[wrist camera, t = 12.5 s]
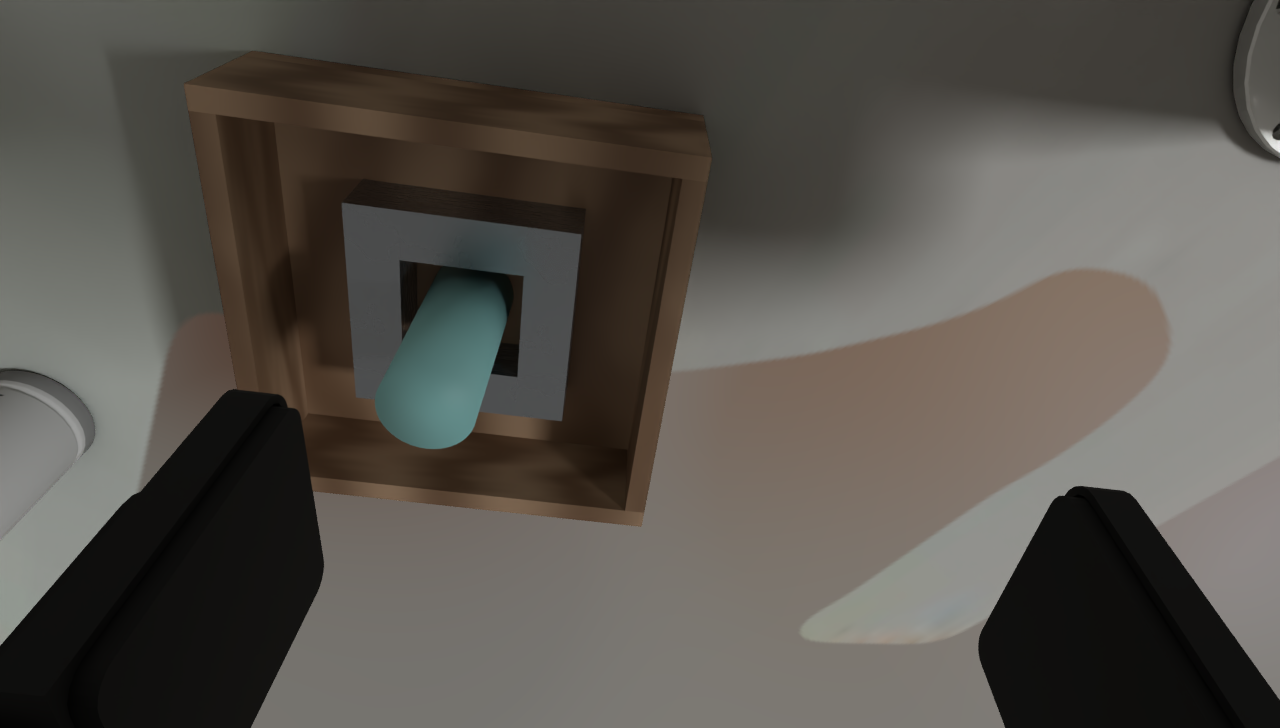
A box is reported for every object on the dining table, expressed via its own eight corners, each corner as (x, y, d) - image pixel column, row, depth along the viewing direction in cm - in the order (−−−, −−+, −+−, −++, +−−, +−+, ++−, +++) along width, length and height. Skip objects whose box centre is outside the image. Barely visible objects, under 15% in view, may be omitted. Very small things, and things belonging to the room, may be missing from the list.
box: (703, 115, 35) (712, 157, 30) (642, 453, 46) (641, 526, 41) (252, 50, 34) (183, 83, 29) (298, 414, 45) (253, 484, 40)
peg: (515, 261, 38) (477, 374, 30) (511, 330, 40) (475, 454, 32) (433, 251, 38) (372, 361, 30) (434, 321, 40) (376, 443, 32)
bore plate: (586, 208, 37) (581, 234, 34) (567, 387, 42) (561, 421, 40) (363, 178, 36) (341, 202, 34) (373, 365, 42) (355, 397, 39)
